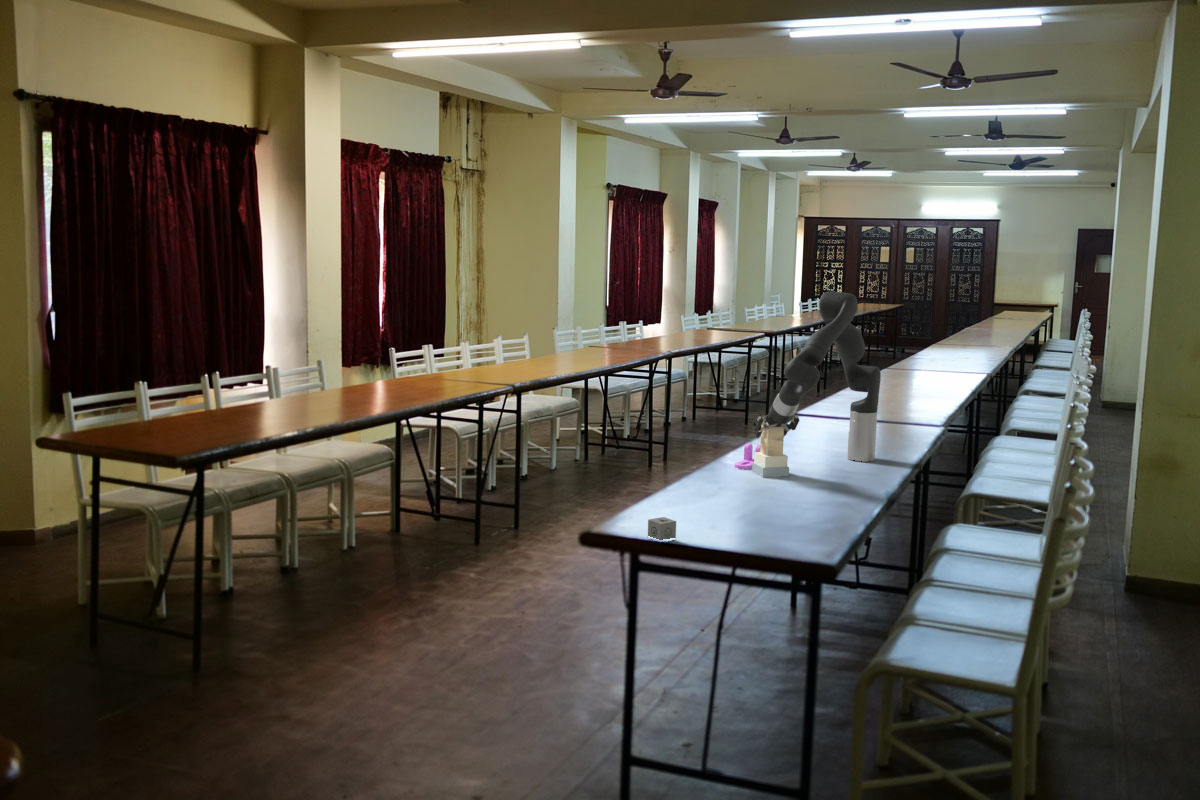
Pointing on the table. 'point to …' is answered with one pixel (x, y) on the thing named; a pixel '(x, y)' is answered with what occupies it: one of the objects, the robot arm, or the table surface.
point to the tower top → (770, 460)
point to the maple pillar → (772, 441)
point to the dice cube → (662, 528)
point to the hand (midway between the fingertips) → (769, 435)
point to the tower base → (770, 471)
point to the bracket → (747, 457)
